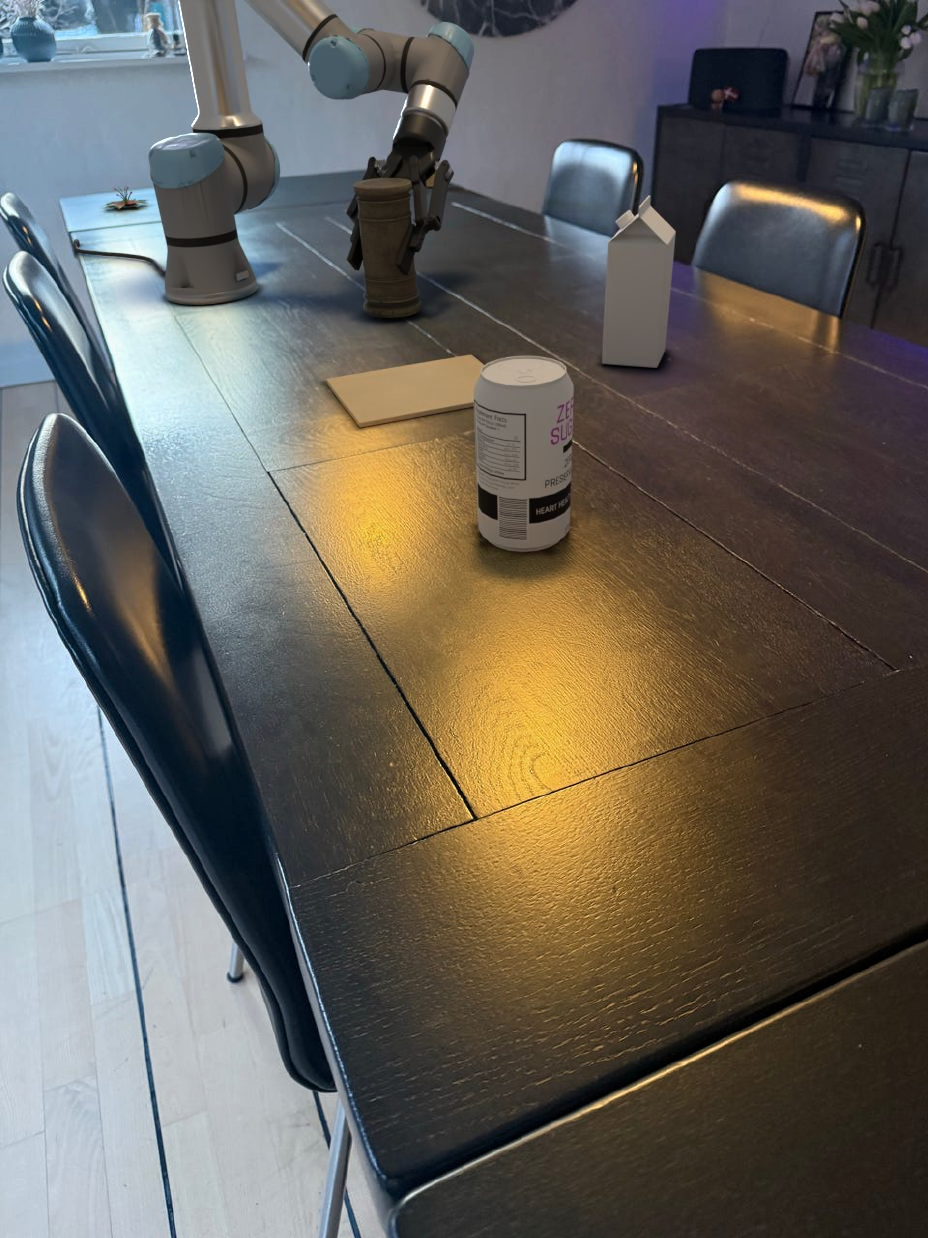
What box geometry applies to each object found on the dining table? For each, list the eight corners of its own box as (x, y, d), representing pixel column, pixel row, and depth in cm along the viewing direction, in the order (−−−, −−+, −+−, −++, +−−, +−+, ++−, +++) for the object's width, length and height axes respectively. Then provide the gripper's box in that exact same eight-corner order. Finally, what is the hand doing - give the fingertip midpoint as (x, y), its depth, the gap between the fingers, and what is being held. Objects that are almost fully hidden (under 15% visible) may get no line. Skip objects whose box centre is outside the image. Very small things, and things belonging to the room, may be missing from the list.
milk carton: (665, 351, 119) (679, 195, 108) (656, 369, 114) (670, 207, 103) (612, 347, 121) (620, 194, 110) (601, 365, 116) (609, 206, 105)
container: (413, 319, 134) (405, 187, 123) (356, 317, 135) (343, 187, 125) (427, 302, 141) (420, 176, 131) (373, 300, 143) (361, 176, 132)
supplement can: (474, 514, 84) (468, 356, 75) (561, 507, 84) (565, 350, 76) (483, 559, 77) (477, 391, 69) (577, 551, 78) (583, 384, 69)
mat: (326, 383, 114) (325, 378, 114) (471, 358, 120) (471, 354, 120) (359, 427, 102) (359, 422, 102) (520, 397, 108) (520, 393, 107)
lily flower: (143, 210, 218) (138, 190, 216) (94, 212, 219) (89, 192, 216) (157, 201, 228) (153, 181, 225) (111, 203, 228) (106, 183, 226)
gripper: (493, 148, 133) (448, 287, 131) (375, 143, 141) (331, 275, 139) (476, 111, 127) (428, 258, 124) (354, 109, 135) (306, 247, 132)
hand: (377, 267), depth 132 cm, fingers closed on container, 8 cm apart
